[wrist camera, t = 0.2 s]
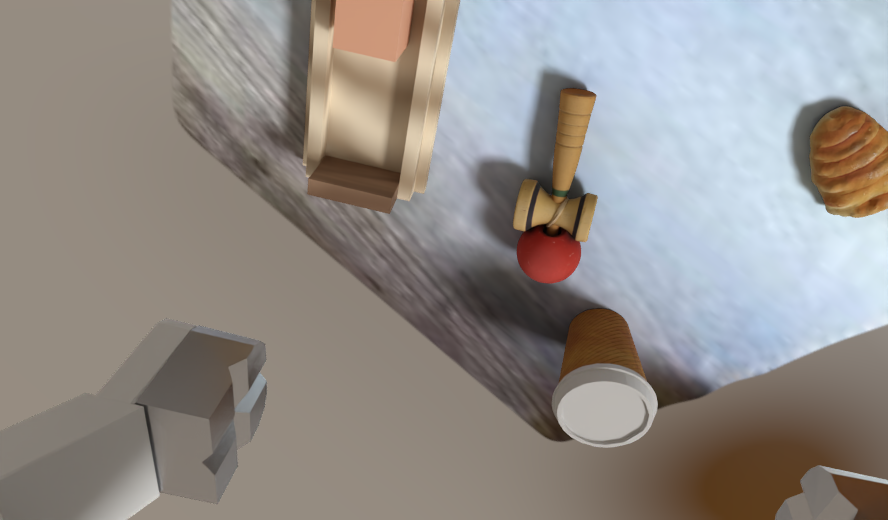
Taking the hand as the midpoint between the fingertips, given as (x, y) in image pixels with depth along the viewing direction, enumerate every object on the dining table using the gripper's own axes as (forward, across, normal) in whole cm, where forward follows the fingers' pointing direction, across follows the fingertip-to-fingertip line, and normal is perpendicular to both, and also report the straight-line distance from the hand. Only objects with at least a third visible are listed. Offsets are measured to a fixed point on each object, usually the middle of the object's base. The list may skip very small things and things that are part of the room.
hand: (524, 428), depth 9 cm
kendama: (+48, -5, +18) cm, 51 cm away
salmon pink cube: (+46, +13, +6) cm, 48 cm away
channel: (+47, +13, +12) cm, 50 cm away
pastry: (+48, -28, +11) cm, 56 cm away
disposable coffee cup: (+47, -13, +35) cm, 60 cm away
